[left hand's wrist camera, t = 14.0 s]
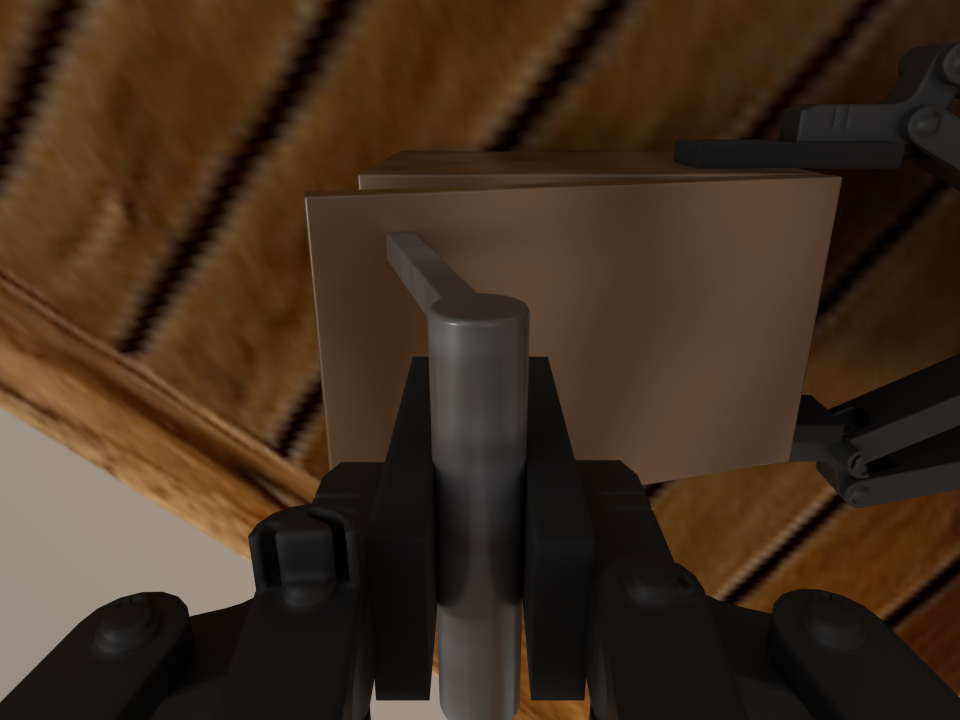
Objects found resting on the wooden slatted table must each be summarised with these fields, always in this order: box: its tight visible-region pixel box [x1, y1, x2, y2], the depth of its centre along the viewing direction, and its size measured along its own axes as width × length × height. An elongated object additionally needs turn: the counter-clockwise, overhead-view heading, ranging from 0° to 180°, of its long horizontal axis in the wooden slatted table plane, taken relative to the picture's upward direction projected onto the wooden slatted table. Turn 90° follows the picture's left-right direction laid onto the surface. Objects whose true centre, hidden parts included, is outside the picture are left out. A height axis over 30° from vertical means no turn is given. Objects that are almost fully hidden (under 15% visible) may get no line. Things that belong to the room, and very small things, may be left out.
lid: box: [303, 174, 842, 720], centre depth 15 cm, size 15×9×9 cm, turn 91°
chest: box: [358, 151, 820, 190], centre depth 26 cm, size 14×9×10 cm, turn 90°
